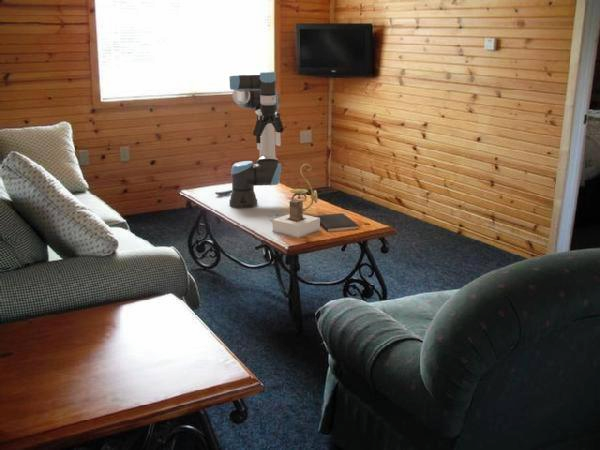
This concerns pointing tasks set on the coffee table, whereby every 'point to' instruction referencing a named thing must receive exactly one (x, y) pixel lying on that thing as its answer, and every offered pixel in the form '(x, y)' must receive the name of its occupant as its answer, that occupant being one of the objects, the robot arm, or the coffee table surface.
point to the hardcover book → (336, 222)
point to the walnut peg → (296, 210)
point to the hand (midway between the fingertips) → (269, 147)
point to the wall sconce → (301, 191)
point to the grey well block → (296, 226)
